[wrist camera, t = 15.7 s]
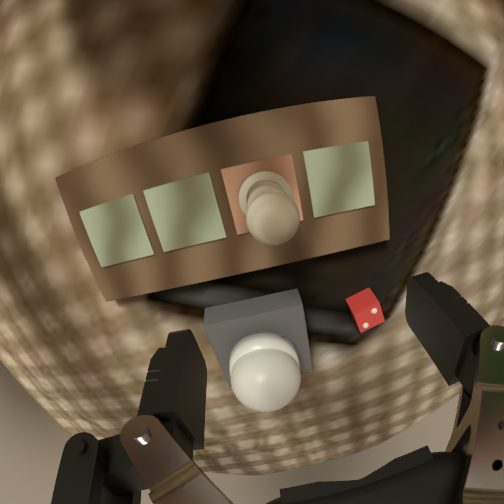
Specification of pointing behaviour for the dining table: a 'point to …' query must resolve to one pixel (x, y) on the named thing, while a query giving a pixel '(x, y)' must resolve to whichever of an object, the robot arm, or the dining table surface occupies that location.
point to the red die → (365, 310)
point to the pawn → (269, 207)
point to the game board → (228, 196)
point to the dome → (264, 371)
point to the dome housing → (258, 325)
